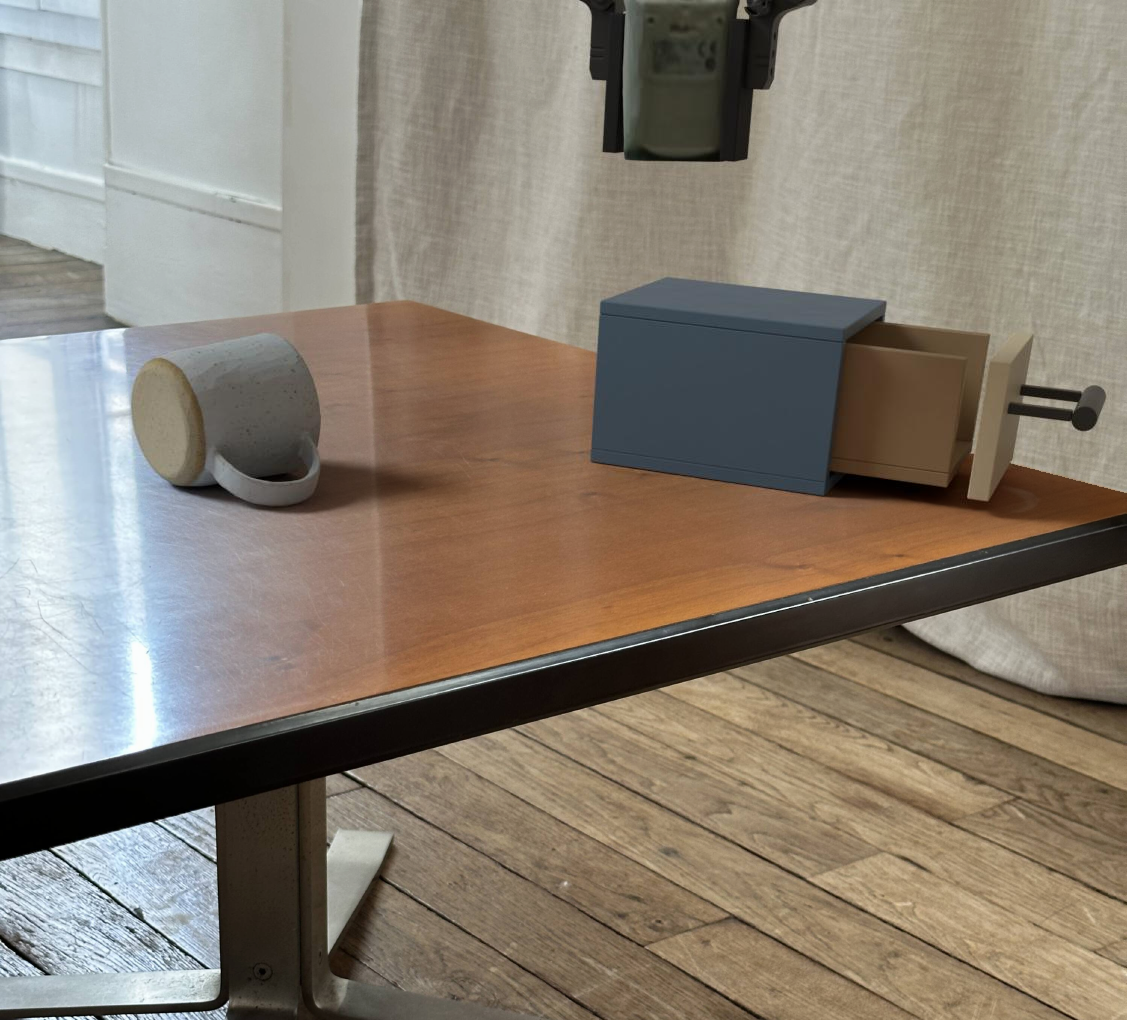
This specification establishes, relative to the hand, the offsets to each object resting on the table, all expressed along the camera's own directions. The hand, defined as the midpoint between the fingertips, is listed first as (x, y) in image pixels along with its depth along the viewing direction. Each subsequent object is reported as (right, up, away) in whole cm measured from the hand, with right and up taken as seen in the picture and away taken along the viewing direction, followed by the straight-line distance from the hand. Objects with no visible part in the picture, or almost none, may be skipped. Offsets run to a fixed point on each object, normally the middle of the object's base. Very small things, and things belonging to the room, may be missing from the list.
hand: (675, 154), depth 82 cm
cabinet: (+5, -12, +19) cm, 23 cm away
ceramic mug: (-23, -16, +7) cm, 29 cm away
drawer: (+16, -14, +15) cm, 26 cm away
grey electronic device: (0, -1, 0) cm, 1 cm away
